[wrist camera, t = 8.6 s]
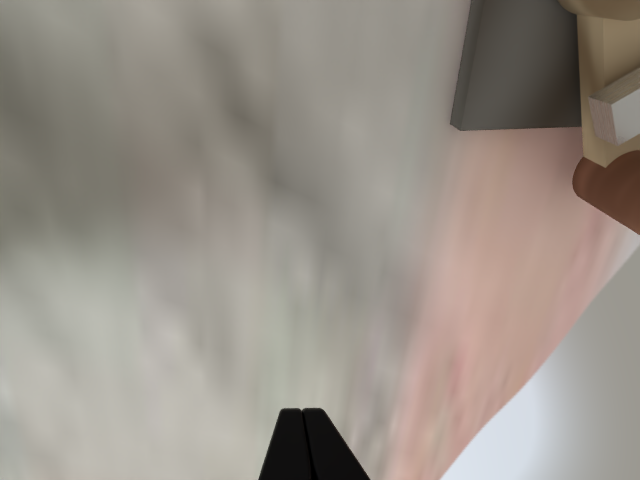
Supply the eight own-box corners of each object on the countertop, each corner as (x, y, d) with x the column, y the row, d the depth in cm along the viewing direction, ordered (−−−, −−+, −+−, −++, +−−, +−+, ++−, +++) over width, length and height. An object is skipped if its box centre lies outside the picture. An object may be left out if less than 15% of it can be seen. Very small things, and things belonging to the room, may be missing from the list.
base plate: (450, 124, 20) (460, 130, 20) (495, -137, 16) (511, -142, 15) (634, 118, 22) (650, 124, 21) (721, -117, 18) (747, -121, 17)
